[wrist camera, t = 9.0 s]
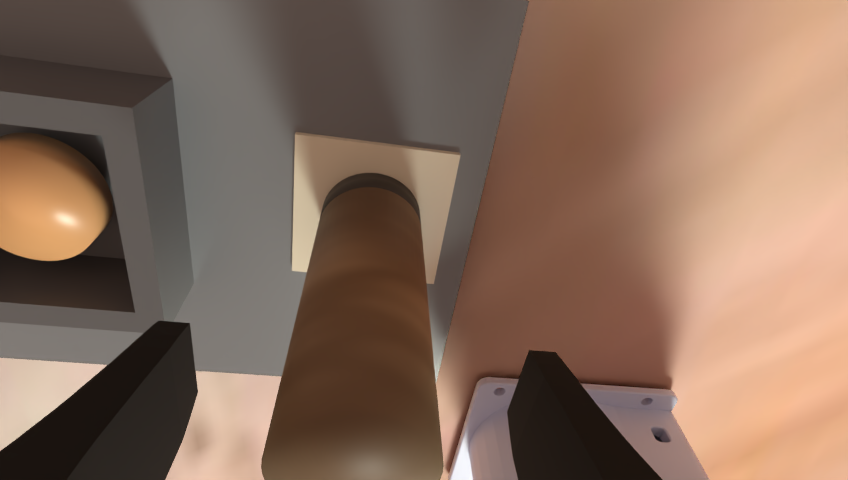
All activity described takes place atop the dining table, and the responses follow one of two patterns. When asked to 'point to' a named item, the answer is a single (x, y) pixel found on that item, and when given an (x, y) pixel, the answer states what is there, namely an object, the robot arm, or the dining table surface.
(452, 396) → the dining table surface
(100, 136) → the switch panel
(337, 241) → the brown cylinder
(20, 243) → the breaker button
